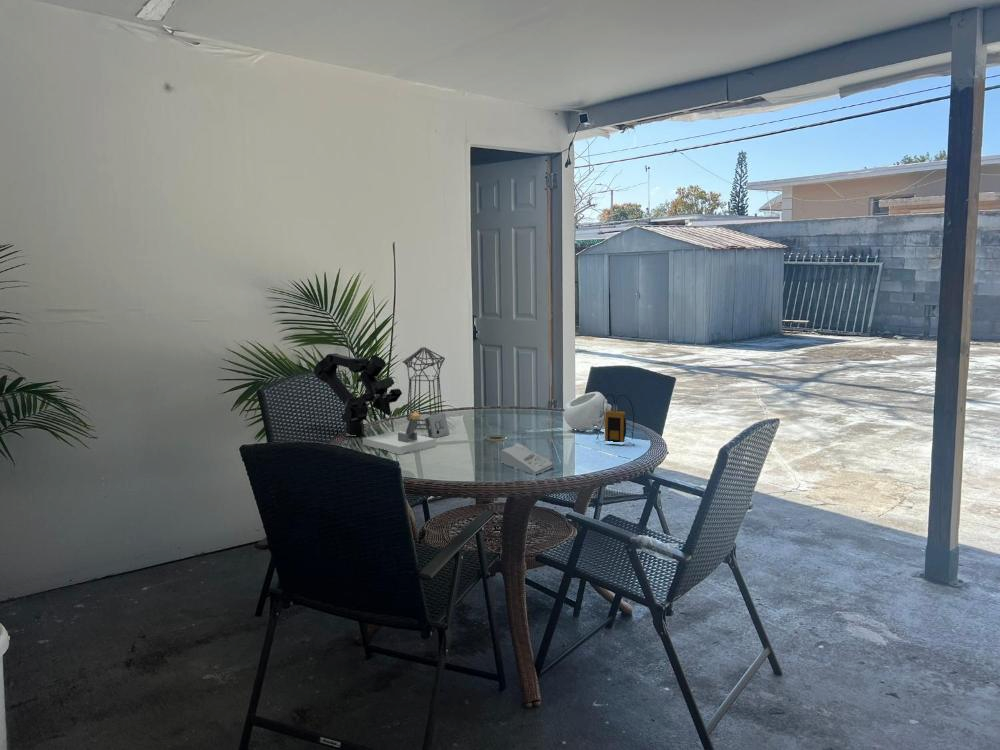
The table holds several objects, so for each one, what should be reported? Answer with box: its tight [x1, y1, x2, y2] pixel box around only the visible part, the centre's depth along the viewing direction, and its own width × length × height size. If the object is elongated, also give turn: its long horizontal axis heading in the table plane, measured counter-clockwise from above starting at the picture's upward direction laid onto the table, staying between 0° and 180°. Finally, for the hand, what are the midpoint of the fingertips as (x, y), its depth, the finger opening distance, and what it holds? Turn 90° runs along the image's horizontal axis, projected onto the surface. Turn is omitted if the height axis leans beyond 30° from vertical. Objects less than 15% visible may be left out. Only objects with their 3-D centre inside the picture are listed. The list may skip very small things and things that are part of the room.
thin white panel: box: [362, 430, 437, 455], centre depth 291 cm, size 22×18×6 cm
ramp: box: [500, 442, 554, 474], centre depth 262 cm, size 28×16×5 cm, turn 14°
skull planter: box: [563, 391, 612, 431], centre depth 317 cm, size 14×20×19 cm
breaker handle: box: [405, 411, 421, 439], centre depth 285 cm, size 2×3×11 cm, turn 138°
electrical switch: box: [424, 412, 450, 439], centre depth 309 cm, size 9×5×9 cm, turn 141°
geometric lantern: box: [402, 346, 446, 430], centre depth 323 cm, size 16×16×35 cm
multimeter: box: [595, 393, 635, 442], centre depth 295 cm, size 15×10×20 cm
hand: (389, 414), depth 293 cm, fingers closed
